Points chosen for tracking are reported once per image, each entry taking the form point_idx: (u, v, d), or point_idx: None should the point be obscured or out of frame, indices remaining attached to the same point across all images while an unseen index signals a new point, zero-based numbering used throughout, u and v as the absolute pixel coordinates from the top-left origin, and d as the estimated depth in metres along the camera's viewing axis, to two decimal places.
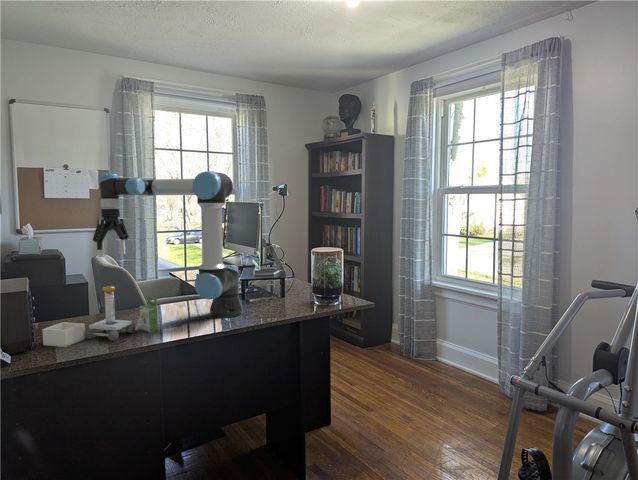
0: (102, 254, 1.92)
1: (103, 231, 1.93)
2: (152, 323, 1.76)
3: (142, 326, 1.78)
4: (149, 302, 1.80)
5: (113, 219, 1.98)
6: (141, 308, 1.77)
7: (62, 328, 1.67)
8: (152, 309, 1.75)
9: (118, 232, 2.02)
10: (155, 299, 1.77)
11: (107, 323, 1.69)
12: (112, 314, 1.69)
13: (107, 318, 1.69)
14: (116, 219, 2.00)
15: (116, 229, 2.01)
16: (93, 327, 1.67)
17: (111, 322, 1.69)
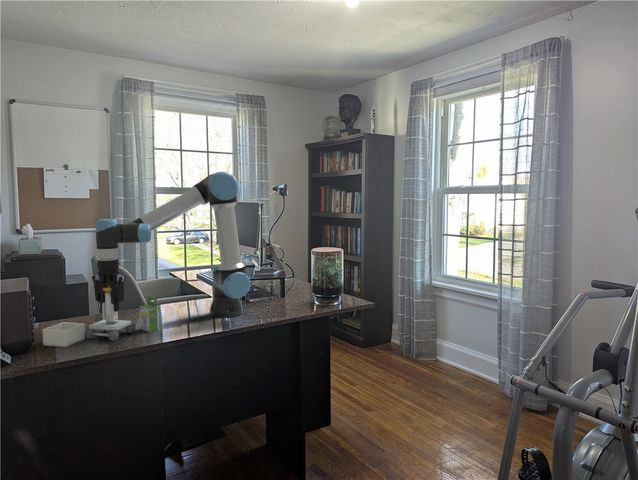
0: None
1: None
2: (152, 323, 1.76)
3: (142, 326, 1.78)
4: (149, 302, 1.80)
5: (107, 272, 1.68)
6: (141, 308, 1.77)
7: (62, 328, 1.67)
8: (152, 309, 1.75)
9: None
10: (155, 299, 1.77)
11: (107, 323, 1.69)
12: None
13: (107, 318, 1.69)
14: (113, 272, 1.67)
15: None
16: (93, 327, 1.67)
17: (111, 322, 1.69)
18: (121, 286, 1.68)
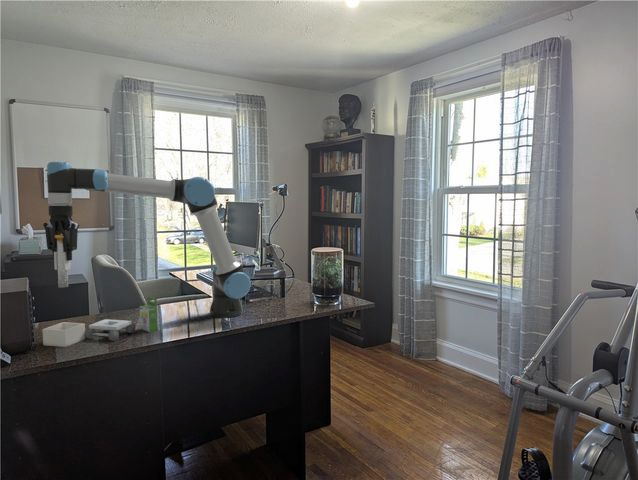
0: None
1: None
2: (152, 323, 1.76)
3: (142, 326, 1.78)
4: (149, 302, 1.80)
5: (59, 219, 1.58)
6: (141, 308, 1.77)
7: (62, 328, 1.67)
8: (152, 309, 1.75)
9: None
10: (155, 299, 1.77)
11: (59, 273, 1.60)
12: None
13: (59, 267, 1.59)
14: (65, 218, 1.58)
15: None
16: (93, 327, 1.67)
17: (63, 272, 1.60)
18: (74, 233, 1.58)
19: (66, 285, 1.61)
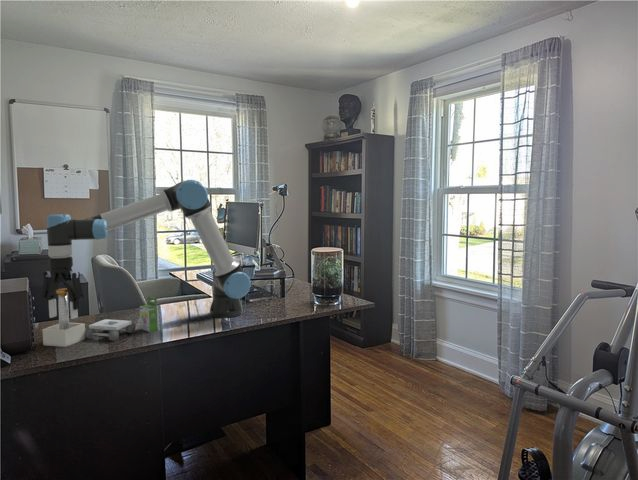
0: None
1: None
2: (152, 323, 1.76)
3: (142, 326, 1.78)
4: (149, 302, 1.80)
5: (59, 270, 1.59)
6: (141, 308, 1.77)
7: None
8: (152, 309, 1.75)
9: None
10: (155, 299, 1.77)
11: (60, 327, 1.61)
12: (66, 318, 1.61)
13: (60, 322, 1.61)
14: (65, 270, 1.59)
15: None
16: (93, 327, 1.67)
17: (64, 326, 1.61)
18: (77, 282, 1.59)
19: None
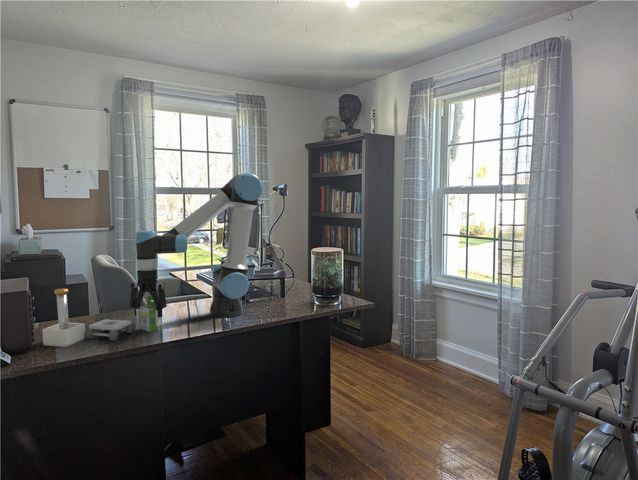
0: None
1: None
2: (152, 323, 1.75)
3: (142, 326, 1.78)
4: (149, 302, 1.80)
5: (146, 281, 1.76)
6: (141, 308, 1.77)
7: None
8: (152, 309, 1.75)
9: None
10: None
11: (60, 327, 1.61)
12: (65, 318, 1.61)
13: (60, 322, 1.61)
14: (151, 281, 1.75)
15: None
16: (93, 327, 1.67)
17: (64, 326, 1.61)
18: (162, 293, 1.75)
19: None
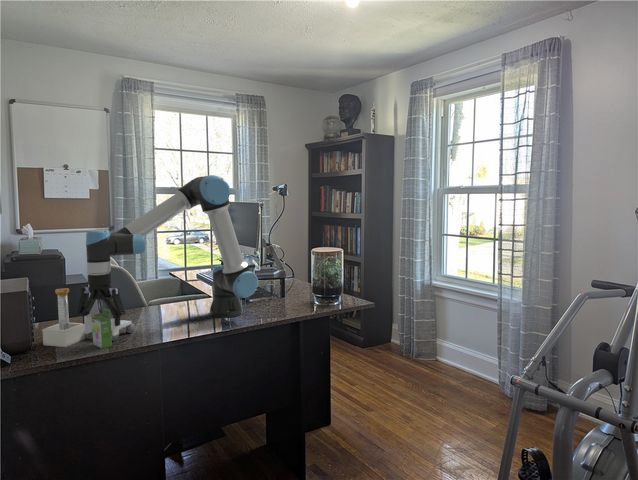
0: None
1: None
2: (104, 338, 1.56)
3: (94, 341, 1.58)
4: (103, 314, 1.61)
5: (98, 287, 1.56)
6: (93, 321, 1.58)
7: None
8: (104, 322, 1.56)
9: None
10: (109, 311, 1.58)
11: (60, 327, 1.61)
12: (66, 318, 1.61)
13: (60, 322, 1.61)
14: (103, 287, 1.55)
15: None
16: None
17: (64, 326, 1.61)
18: (117, 299, 1.56)
19: None
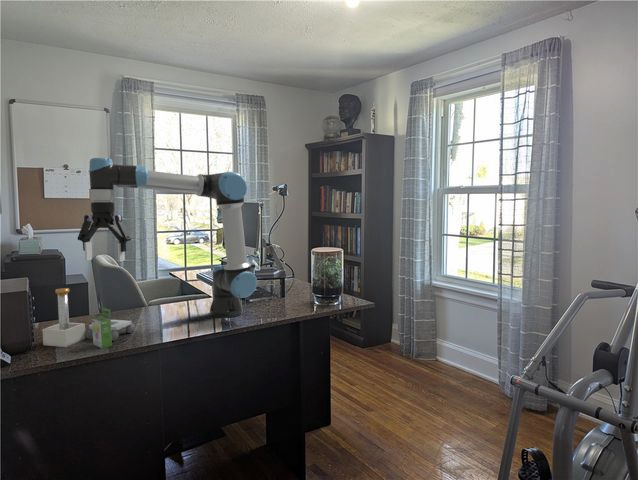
0: None
1: None
2: (104, 338, 1.56)
3: (94, 341, 1.58)
4: (103, 314, 1.61)
5: (102, 215, 1.57)
6: (93, 321, 1.58)
7: None
8: (104, 322, 1.56)
9: None
10: (109, 311, 1.58)
11: (60, 327, 1.61)
12: (66, 317, 1.62)
13: (60, 322, 1.61)
14: (106, 215, 1.56)
15: None
16: None
17: (65, 326, 1.61)
18: (121, 225, 1.56)
19: None
